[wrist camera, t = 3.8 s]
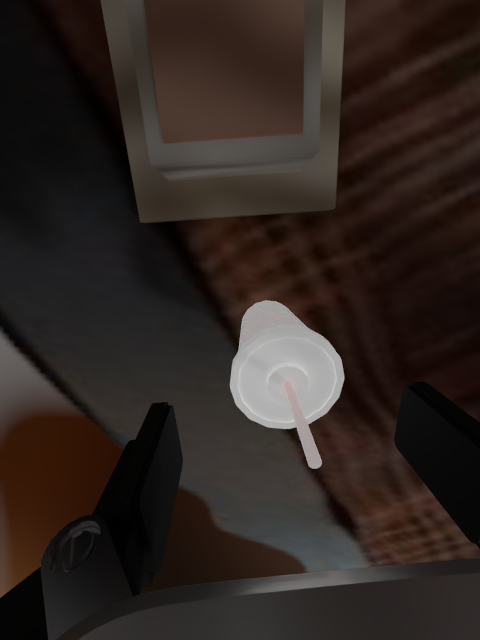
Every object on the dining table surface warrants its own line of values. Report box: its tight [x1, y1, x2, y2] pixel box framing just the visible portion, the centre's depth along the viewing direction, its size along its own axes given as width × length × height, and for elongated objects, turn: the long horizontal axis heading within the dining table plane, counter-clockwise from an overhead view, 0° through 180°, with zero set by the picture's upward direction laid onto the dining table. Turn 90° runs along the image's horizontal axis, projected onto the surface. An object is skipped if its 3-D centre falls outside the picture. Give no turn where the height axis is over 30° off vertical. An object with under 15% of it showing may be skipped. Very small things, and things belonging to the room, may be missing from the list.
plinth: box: [101, 0, 346, 223], centre depth 14 cm, size 14×14×5 cm
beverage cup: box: [230, 301, 345, 469], centre depth 15 cm, size 6×6×14 cm
